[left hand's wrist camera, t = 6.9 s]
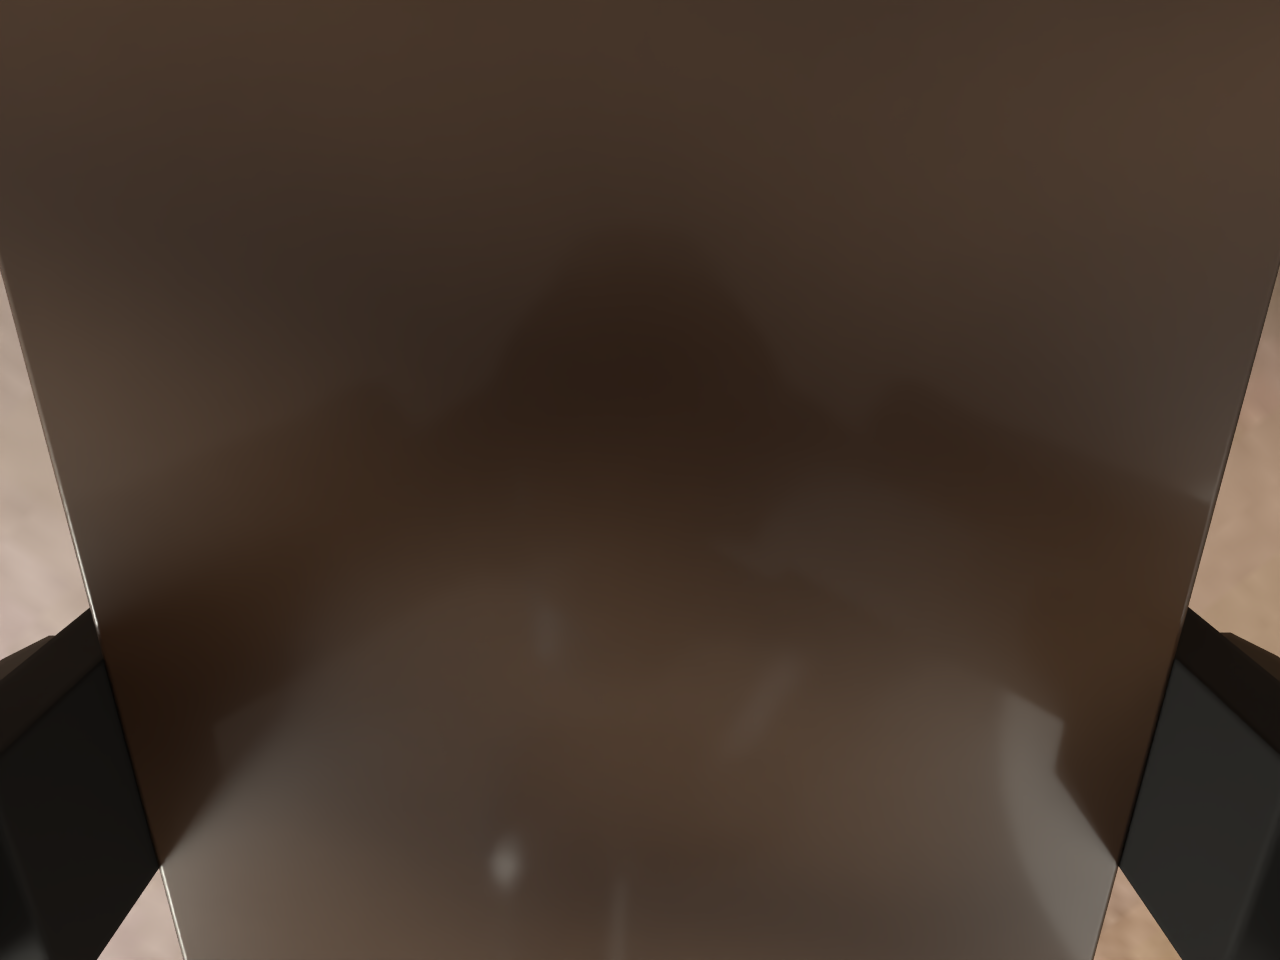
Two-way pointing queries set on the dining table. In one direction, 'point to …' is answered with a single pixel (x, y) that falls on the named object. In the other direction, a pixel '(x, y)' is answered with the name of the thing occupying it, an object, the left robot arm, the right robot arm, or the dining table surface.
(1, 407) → the dining table surface
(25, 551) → the dining table surface
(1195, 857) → the left robot arm
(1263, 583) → the dining table surface
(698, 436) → the cabinet
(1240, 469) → the dining table surface
